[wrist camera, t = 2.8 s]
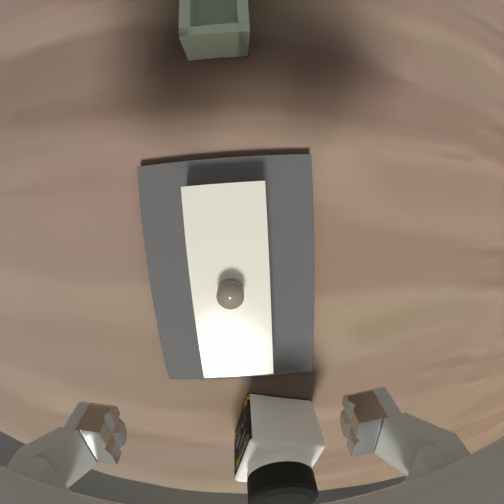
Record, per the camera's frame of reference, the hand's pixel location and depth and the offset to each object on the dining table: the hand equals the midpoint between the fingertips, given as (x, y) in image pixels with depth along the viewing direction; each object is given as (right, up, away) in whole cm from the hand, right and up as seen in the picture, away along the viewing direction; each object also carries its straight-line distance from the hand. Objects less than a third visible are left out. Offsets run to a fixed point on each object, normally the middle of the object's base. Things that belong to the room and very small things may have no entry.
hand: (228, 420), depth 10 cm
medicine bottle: (+3, -13, +21) cm, 25 cm away
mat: (-1, +4, +17) cm, 17 cm away
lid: (-1, +3, +16) cm, 17 cm away
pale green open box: (-2, +29, +11) cm, 31 cm away
